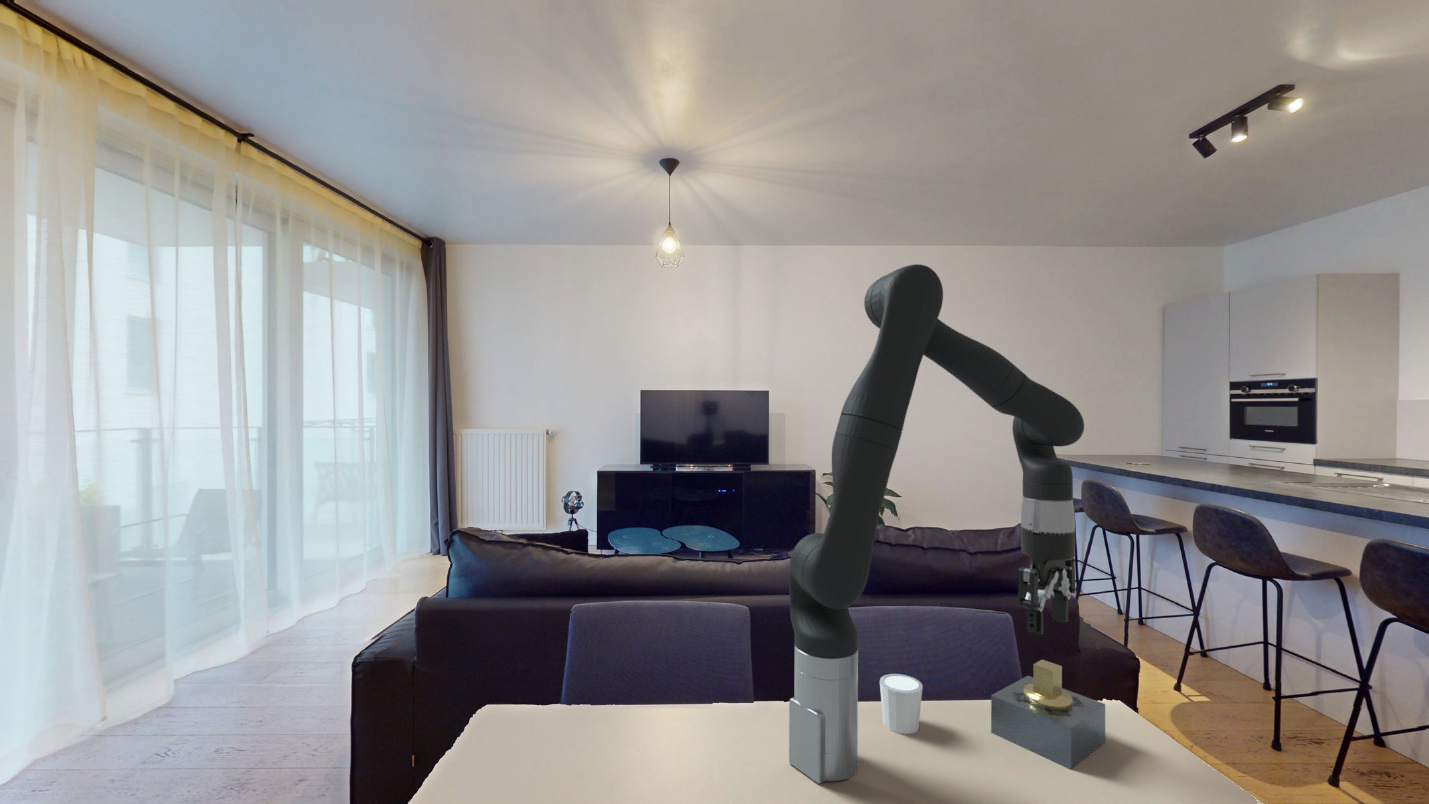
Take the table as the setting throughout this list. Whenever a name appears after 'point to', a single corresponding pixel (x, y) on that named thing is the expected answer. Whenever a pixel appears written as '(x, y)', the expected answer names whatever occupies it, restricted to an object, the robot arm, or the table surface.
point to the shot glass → (901, 702)
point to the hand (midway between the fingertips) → (1047, 627)
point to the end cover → (1047, 687)
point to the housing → (1049, 724)
